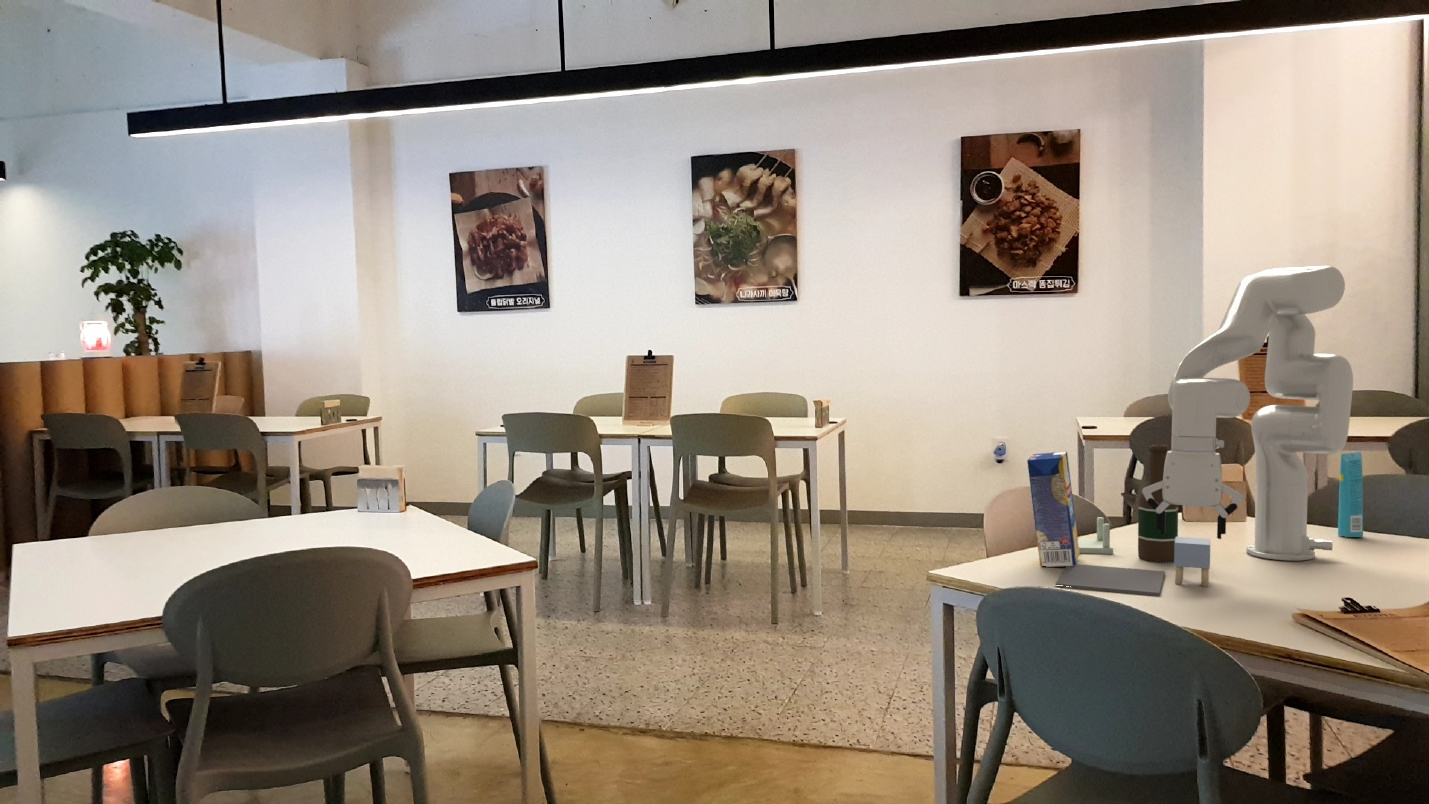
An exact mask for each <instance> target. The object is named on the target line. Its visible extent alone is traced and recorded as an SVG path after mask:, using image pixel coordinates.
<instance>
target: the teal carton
mask: <svg viewBox="0 0 1429 804" xmlns="http://www.w3.org/2000/svg"><path fill="white" fill-rule="evenodd" d="M1340 457H1341V458H1340V467H1339V468H1340V469H1339V486H1338V487H1339V491H1338V515H1337V516H1338V519H1337V535H1339V537H1340V536H1345V537H1344V538H1346V537H1361V538H1363V537H1362V536H1364V501H1363V499H1364V491H1363V490H1364V489H1363V487H1364V486H1363V483H1364V482H1363V480H1364V479H1363V478H1364V477H1363V476H1364V475H1363V458H1362V452H1361V451H1356V452H1348V453H1344V452H1343V453H1341V455H1340Z"/></svg>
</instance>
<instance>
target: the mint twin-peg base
mask: <svg viewBox="0 0 1429 804" xmlns="http://www.w3.org/2000/svg"><path fill="white" fill-rule="evenodd" d="M1104 519H1105V518H1104V517H1102V516H1101V517H1100V516H1099V517H1098V516H1097V517H1096V538H1078V546H1079V554H1097V555H1098V554H1101V555H1102V554H1104V555H1105V554H1106V555H1108V554H1109V555H1114V548H1113V546H1111V543H1110V542H1111V536H1110V535H1111V534H1110V533H1111V532H1110V531H1111V524H1110V523H1104V521H1105V520H1104Z"/></svg>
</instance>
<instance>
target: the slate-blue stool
mask: <svg viewBox="0 0 1429 804" xmlns="http://www.w3.org/2000/svg"><path fill="white" fill-rule="evenodd" d="M1210 566H1211V538H1202V537H1200V538H1199V537H1188V536H1187V537H1186V536H1178V537H1176V538H1175V543H1174V562H1173V567H1175V579H1174V580H1175V585H1179V586H1180V585H1181V586H1182V585H1183V580H1184V568H1193V569H1200V571H1201V572H1200V573H1201V574H1200V575H1201V577H1200V581H1201V582H1200V586H1201V587H1202V588H1208V587H1209V577H1210V576H1209V574H1210V568H1211V567H1210Z"/></svg>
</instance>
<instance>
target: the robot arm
mask: <svg viewBox="0 0 1429 804" xmlns="http://www.w3.org/2000/svg"><path fill="white" fill-rule="evenodd" d="M1345 285H1346V283H1345V278H1344V276H1343V273H1342V272H1341V271H1340V270H1339V269H1338V268H1336V267H1334V266H1331V265H1319V266H1303V267H1302V266H1301V267H1285V268H1283V267H1279V268H1272V269H1266V270H1263V271H1260V272H1258V273H1254V274H1252V275H1251V274H1250V275H1247V276H1246V277H1244V278H1242V280H1241V281H1240V282H1239V283H1238V284H1237V287H1236V289H1235V291H1234V293H1233V295H1232V298H1231V300H1230V302H1229V305H1228V307H1227V309H1226V312H1225V315H1223V316H1224V317H1223V319H1222V321H1221V323H1220V325H1219V327H1218V330H1217V331H1216V332H1215V333H1213V334H1212V335H1210V336H1208V337H1206V338H1205V339H1204V340H1202V341H1201V342H1200V343H1198V345H1197V344H1196V346H1194V347H1193V348H1192V349H1191V350H1190V351H1188V352H1187V353H1186V354H1185V355H1184V357H1182V359H1181V360H1180V361H1179V363H1178V365H1177V367H1176V370H1175V372H1174V375H1173V376H1172V379H1171V382H1170V385H1169V388H1168V391H1167V392H1168V393H1167V401H1168V404H1169V407H1170V409H1171V411H1172V412H1171V448H1170V450H1168V451H1167V454H1166V459H1165V465H1164V474H1163V480H1162V481H1160V482H1157V483H1155V484H1153V485H1150V486H1148V487H1145V486H1144V487H1145V488H1144V487H1143V488H1142V490H1141V492H1142V493H1143V494H1144V496H1145V498H1146V500H1147V502H1148V504H1149V505H1150V506H1151V507H1152V508H1153V509H1154V510H1155V511H1156V512H1157V529H1161V535H1164V534H1165V530H1166V513H1165V509H1166V508H1167V507H1168V506H1169V505H1170V504H1174V505H1178V506H1190V507H1204V508H1205V507H1206V508H1208V507H1209V508H1210V507H1211V508H1213V509H1214V510H1215V511H1216V512H1217V513H1218V516H1217V528H1216V529H1217V530H1216V535H1217V536H1216V538H1217V539H1218V540H1222V535H1227V533H1226V532H1227V531H1226V530H1227V518H1228V517H1229V516H1230V515H1231V514H1232V513H1234V512H1235V511H1237V510H1238V507H1239V505H1241V503H1242V501H1243V499H1244V498H1245V497H1244V494H1243V493H1242V492H1239V491H1237V490H1235V489H1233V488H1232V487H1230V486H1228V485H1226V484H1224V483H1223V470H1222V459H1221V454H1220V453H1219V452H1216V450H1217V449H1220V448H1225V440H1221V439H1218V438H1216V437H1217V418H1224V419H1225V418H1226V419H1227V418H1228V419H1233V418H1236V417H1239V416H1241V415H1243V414H1244V413H1245V412H1246V411H1247V409H1248V408H1249V406H1250V404H1251V393H1250V390H1249V388H1248V385H1246V384H1245V383H1244V382H1242V381H1240V380H1237V379H1235V378H1225V377H1224V378H1223V377H1222V378H1221V377H1219V378H1218V377H1205V376H1206V375H1208V374H1209V373H1211V372H1212V371H1214V370H1215V369H1217V368H1219V367H1222V366H1224V365H1227V364H1230V363H1233V362H1236V361H1239V360H1242V359H1244V358H1247V357H1250V356H1252V355H1254V354H1256V353H1258V352H1259V351H1260V350H1261V349H1262V348H1263V346H1264V344H1265V342H1266V339H1267V337H1268V341H1267V342H1268V343H1267V351H1266V352H1267V353H1266V360H1265V361H1266V362H1265V372H1264V387H1265V390H1266V392H1267V393H1268V394H1269V396H1271V397H1273V398H1278V399H1286V400H1306V401H1318V403H1319V406H1304V405H1292V404H1291V405H1290V404H1271V405H1267V406H1263V407H1262V408H1259V409H1258V410H1257V411H1255V413H1254V414H1253V416H1252V418H1251V419H1252V420H1251V424H1250V425H1251V426H1250V427H1251V435H1252V440H1253V446H1254V453H1255V506H1254V507H1255V508H1254V509H1255V510H1254V511H1255V512H1254V516H1255V517H1254V543H1253V544H1248V545H1247V546H1246V551H1245V552H1246V553H1247V554H1249V555H1250V556H1253V557H1257V558H1261V559H1262V558H1263V559H1267V560H1276V561H1277V560H1278V561H1288V562H1289V561H1292V562H1293V561H1295V562H1296V561H1307V560H1308V559H1309V560H1312V559H1314V558H1315V557H1316V552H1315V550H1322V551H1333V540H1325V539H1315V538H1311V537H1310V536H1309V533H1308V532H1307V531H1308V530H1307V529H1308V523H1307V522H1308V490H1309V489H1308V488H1309V487H1308V483H1309V482H1308V481H1309V474H1308V470H1307V467H1306V465H1305V464H1304V462H1303V461H1302V459H1301V457H1300V456H1299V455H1298V453H1308V454H1318V455H1320V454H1321V455H1333V454H1337V453H1339V452H1341V451H1342V450H1343V449H1344V448H1345V445H1346V443H1347V441H1348V436H1349V430H1350V429H1349V427H1350V420H1351V409H1352V400H1353V399H1352V397H1353V390H1354V389H1353V388H1354V374H1353V369H1352V366H1351V364H1350V362H1349V360H1348V359H1347V358H1345V357H1344V356H1342V355H1339V354H1334V353H1315V346H1316V345H1315V342H1316V341H1315V340H1316V329H1315V327H1314V325H1313V323H1312V321H1311V320H1310V319H1309V317H1308V316H1307V314H1308V315H1309V314H1315V313H1318V312H1323V311H1325V310H1328V309H1331V308H1334V307H1335V306H1337V305H1338V304H1339V303H1340V301H1341V300H1342V299H1343V296H1344V293H1345V290H1346V289H1345V288H1346V286H1345ZM1161 488H1162V495H1163V501H1162V502H1161V503H1160V504H1159V503H1158V502H1157V501H1156V500H1155V499H1154V498H1153V496H1152V492H1154V491H1156V490H1159V489H1161ZM1223 493H1224V494H1226V495H1228V496H1230V497H1232V498H1233V499H1232V501H1231V503H1229V504H1228V505H1227V506H1225V507H1224V505H1223V504H1222V499H1223ZM1309 560H1308V561H1309Z"/></svg>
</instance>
